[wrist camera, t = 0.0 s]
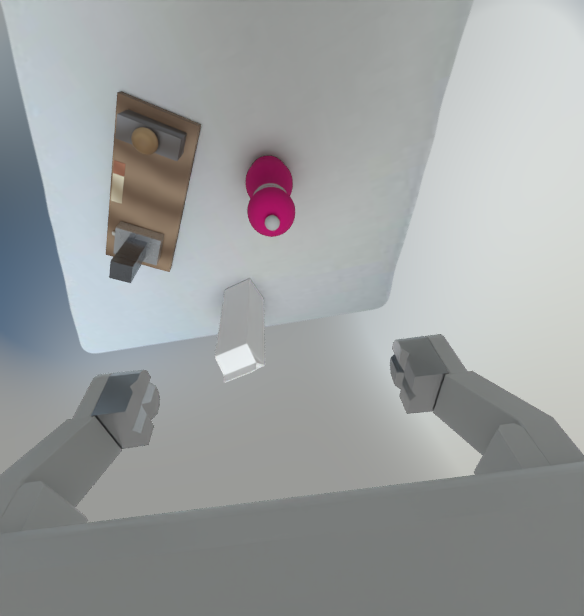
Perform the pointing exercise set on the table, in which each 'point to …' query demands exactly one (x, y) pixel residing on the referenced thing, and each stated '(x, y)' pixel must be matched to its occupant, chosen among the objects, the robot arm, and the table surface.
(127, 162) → the base
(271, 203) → the pepper mill
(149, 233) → the handle
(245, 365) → the milk
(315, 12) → the table surface
